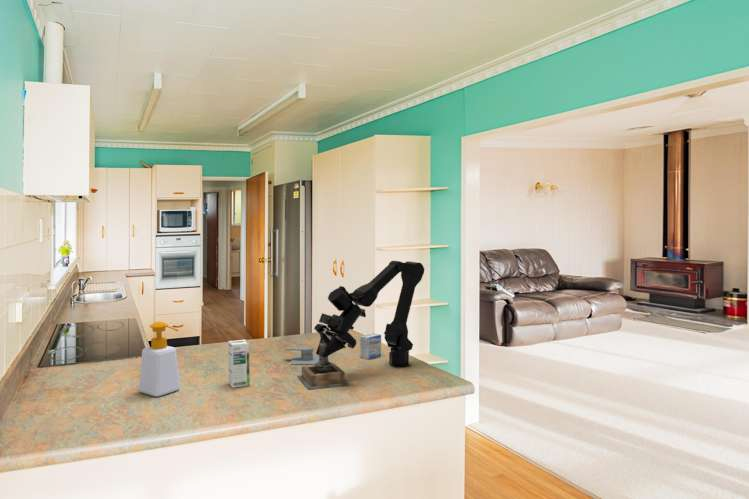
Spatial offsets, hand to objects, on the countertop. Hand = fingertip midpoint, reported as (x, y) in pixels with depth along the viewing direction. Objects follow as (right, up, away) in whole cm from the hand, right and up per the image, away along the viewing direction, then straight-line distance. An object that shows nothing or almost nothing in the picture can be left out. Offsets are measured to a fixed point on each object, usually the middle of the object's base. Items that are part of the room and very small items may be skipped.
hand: (320, 355), depth 185 cm
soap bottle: (-48, -9, -12) cm, 50 cm away
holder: (+1, -9, +1) cm, 9 cm away
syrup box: (-26, -9, -4) cm, 28 cm away
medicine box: (+17, -7, +33) cm, 38 cm away
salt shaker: (+1, -7, +1) cm, 7 cm away
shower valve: (-8, -8, +26) cm, 29 cm away
